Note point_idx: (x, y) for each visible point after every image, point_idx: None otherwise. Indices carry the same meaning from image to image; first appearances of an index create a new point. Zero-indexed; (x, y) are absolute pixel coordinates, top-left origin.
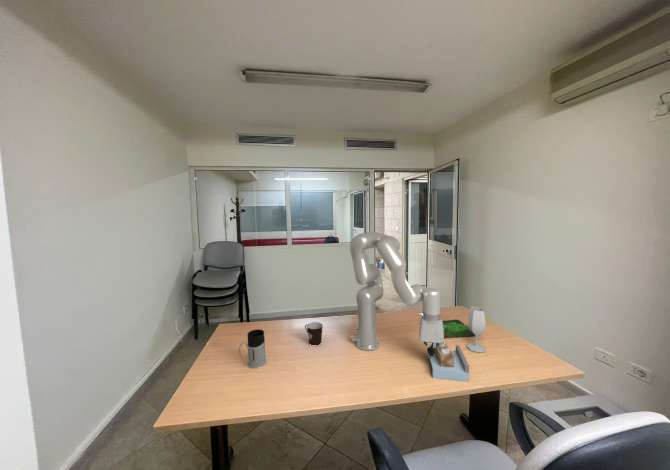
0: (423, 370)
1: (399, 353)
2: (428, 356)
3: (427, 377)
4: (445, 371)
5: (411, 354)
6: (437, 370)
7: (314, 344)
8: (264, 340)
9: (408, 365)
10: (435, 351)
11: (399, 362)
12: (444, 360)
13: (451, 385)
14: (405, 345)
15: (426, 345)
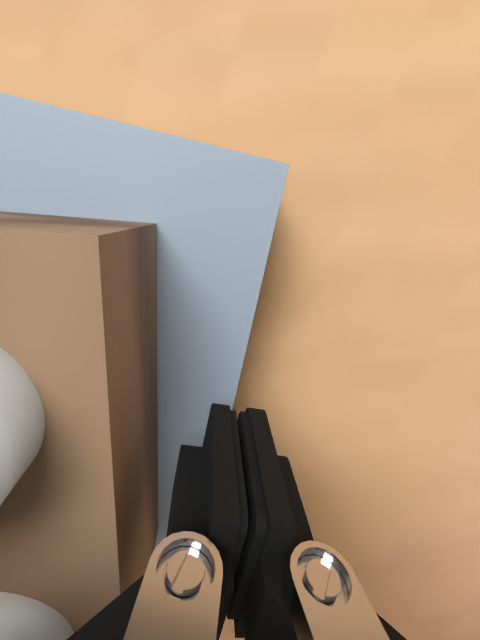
0: (311, 307)
1: (409, 521)
2: None
3: (317, 193)
4: (115, 124)
5: (322, 516)
6: (228, 153)
7: None
8: None
9: (412, 377)
10: (144, 507)
11: (465, 415)
12: (55, 221)
13: (102, 25)
14: None
15: (366, 607)
